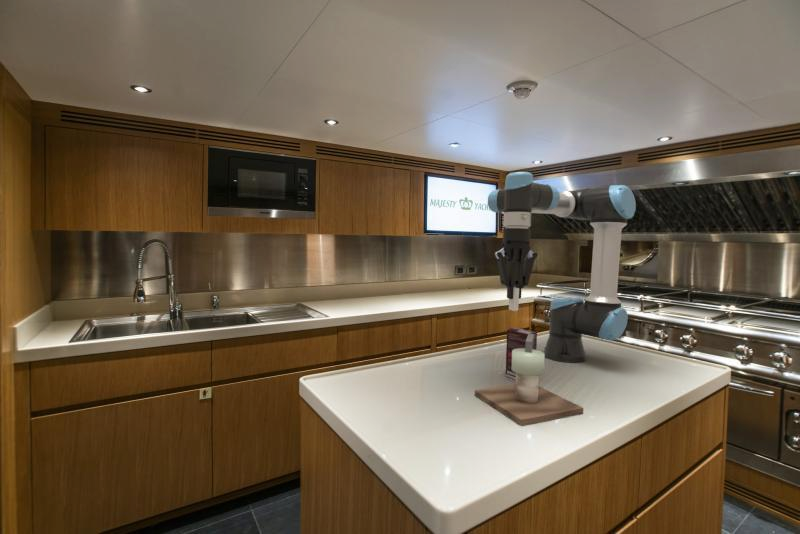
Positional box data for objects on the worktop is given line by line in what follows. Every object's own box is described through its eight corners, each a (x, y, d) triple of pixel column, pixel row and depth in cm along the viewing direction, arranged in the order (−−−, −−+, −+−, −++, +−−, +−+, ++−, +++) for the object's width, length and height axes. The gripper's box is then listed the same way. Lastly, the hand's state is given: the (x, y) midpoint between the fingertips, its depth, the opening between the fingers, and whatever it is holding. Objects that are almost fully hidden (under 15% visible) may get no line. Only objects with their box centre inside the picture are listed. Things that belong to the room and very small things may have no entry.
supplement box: (536, 381, 125) (538, 332, 124) (526, 384, 123) (528, 333, 122) (514, 373, 132) (515, 327, 131) (504, 376, 130) (506, 328, 129)
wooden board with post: (474, 395, 113) (475, 364, 112) (530, 386, 120) (531, 357, 120) (521, 425, 94) (522, 389, 94) (583, 413, 102) (584, 379, 101)
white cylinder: (543, 377, 101) (544, 347, 101) (509, 372, 104) (510, 343, 104) (545, 362, 114) (546, 335, 114) (515, 358, 117) (516, 332, 117)
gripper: (502, 226, 107) (499, 312, 108) (544, 228, 110) (540, 311, 111) (489, 227, 114) (486, 308, 115) (529, 229, 117) (526, 307, 119)
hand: (513, 310), depth 113 cm, fingers closed
